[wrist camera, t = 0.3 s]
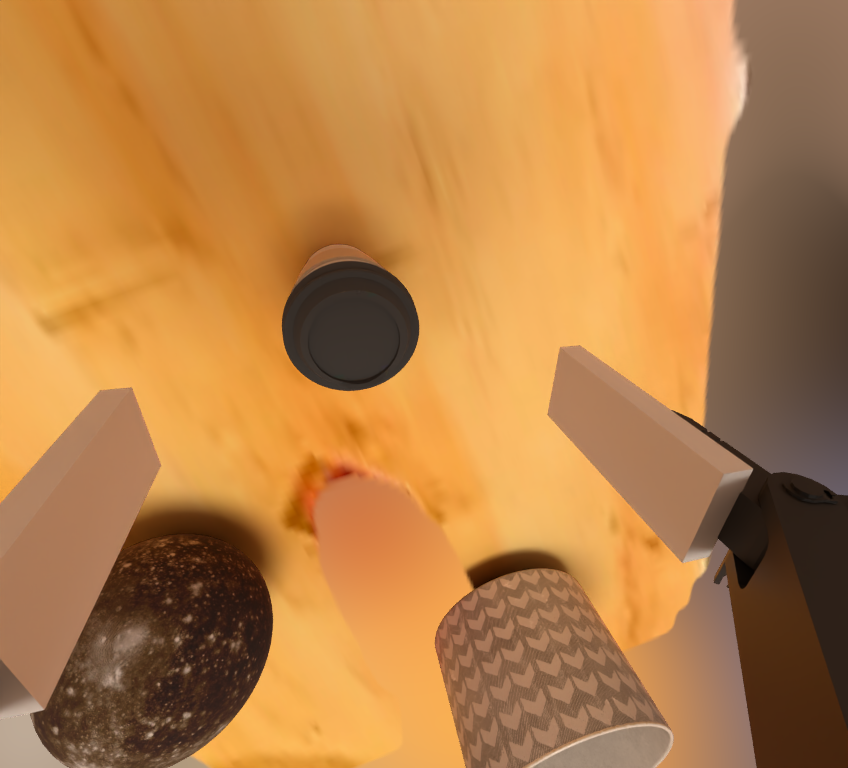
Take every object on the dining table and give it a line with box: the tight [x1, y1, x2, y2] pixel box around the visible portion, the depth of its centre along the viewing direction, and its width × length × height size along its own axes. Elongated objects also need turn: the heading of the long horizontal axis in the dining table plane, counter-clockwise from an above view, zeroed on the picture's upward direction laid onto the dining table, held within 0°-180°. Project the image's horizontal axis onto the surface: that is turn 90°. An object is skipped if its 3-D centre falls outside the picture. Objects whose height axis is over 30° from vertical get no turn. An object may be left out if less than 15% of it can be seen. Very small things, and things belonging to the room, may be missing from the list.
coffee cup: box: [282, 244, 419, 391], centre depth 32 cm, size 9×9×15 cm
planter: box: [435, 568, 674, 768], centre depth 59 cm, size 25×25×24 cm
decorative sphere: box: [30, 534, 273, 768], centre depth 41 cm, size 20×20×20 cm
